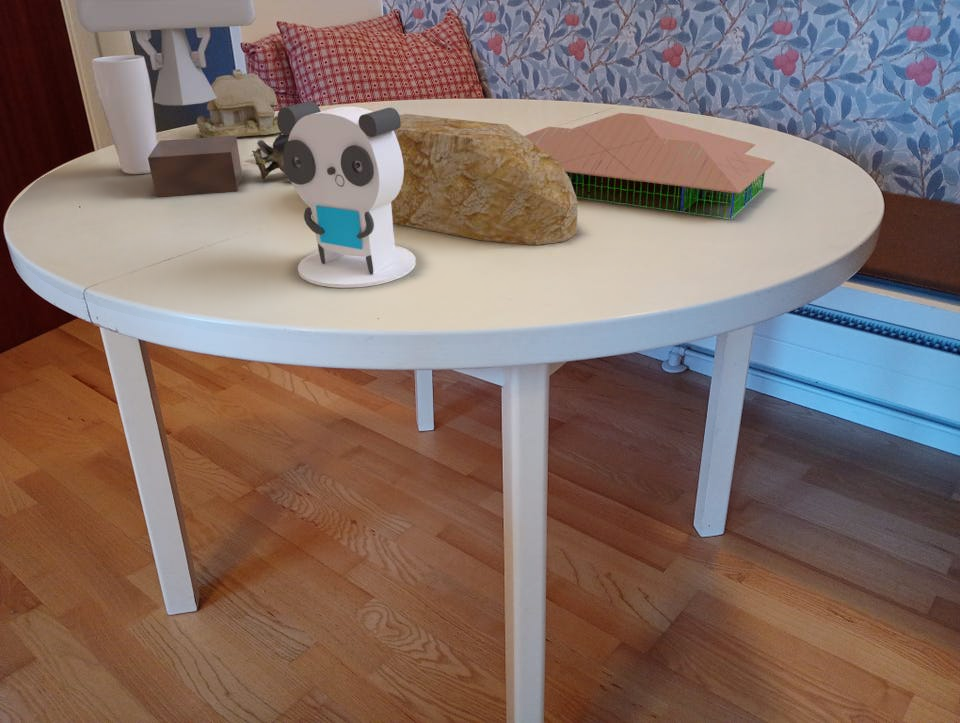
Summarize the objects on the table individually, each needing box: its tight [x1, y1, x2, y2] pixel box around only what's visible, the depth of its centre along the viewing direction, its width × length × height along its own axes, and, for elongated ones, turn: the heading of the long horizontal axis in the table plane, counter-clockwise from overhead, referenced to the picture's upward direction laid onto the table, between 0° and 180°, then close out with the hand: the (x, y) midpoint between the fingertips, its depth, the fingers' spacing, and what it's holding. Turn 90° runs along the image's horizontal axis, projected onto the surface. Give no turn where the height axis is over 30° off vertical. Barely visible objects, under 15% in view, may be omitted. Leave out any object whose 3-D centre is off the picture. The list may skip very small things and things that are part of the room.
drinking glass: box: [91, 54, 159, 175], centre depth 112 cm, size 7×7×15 cm
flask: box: [153, 28, 217, 106], centre depth 101 cm, size 7×7×10 cm
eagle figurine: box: [252, 134, 292, 184], centre depth 108 cm, size 8×7×9 cm
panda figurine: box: [276, 100, 417, 289], centre depth 77 cm, size 12×11×15 cm
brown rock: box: [391, 113, 579, 246], centre depth 92 cm, size 36×11×10 cm, turn 56°
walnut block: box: [148, 136, 243, 198], centre depth 107 cm, size 10×10×5 cm
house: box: [523, 112, 776, 220], centre depth 103 cm, size 23×33×8 cm
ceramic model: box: [196, 68, 281, 138], centre depth 135 cm, size 14×11×10 cm
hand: (179, 68), depth 102 cm, fingers closed on flask, 3 cm apart
